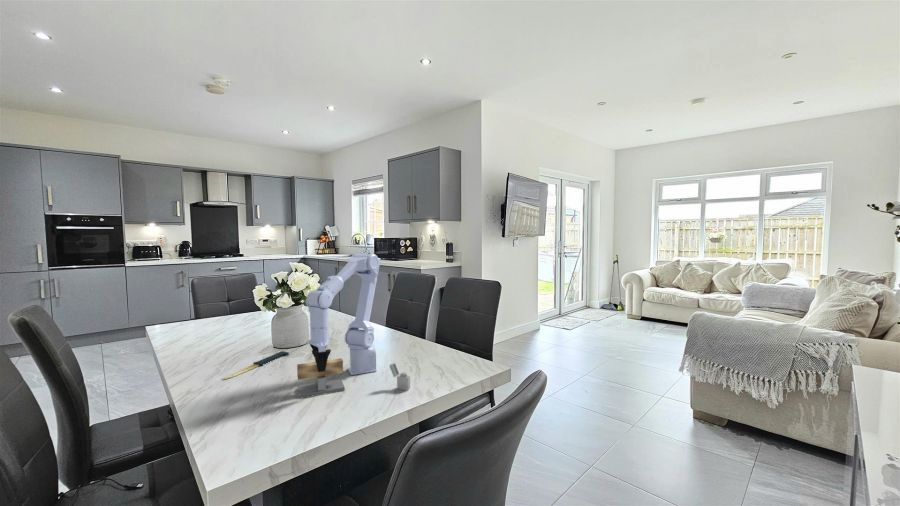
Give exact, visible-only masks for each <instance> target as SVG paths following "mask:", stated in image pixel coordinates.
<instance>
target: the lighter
mask: <svg viewBox="0 0 900 506" xmlns="http://www.w3.org/2000/svg"><path fill="white" fill-rule="evenodd" d="M389 369H390V371H391V374H392V376H393V378H395V377H396V383H397V384H396V385H397V387H396V388H397V390H401V391H405V392H408V391H409V389H410V390H411V376H410V375H408V374H407V372H404V371H403V372H399V369H398V367H397V364H396V362H393V363H391V364H389Z"/></svg>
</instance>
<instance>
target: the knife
mask: <svg viewBox="0 0 900 506" xmlns="http://www.w3.org/2000/svg"><path fill="white" fill-rule="evenodd" d="M289 353H290V352H288V351H282V350H281V351H280V352H277V353H275V354H272V355H269V356H267V357H265V358H263V359H259V360H258V361H257V360H256V361H254V362H252V363H253V364H251V365H249V366H246V367H244V368H241V369H238V370H236V371H234V372H231V373H229V374H227V375H225V376H223V379H222V380H223V381H225V380H228V379H231V378H235V377H238V376H239V375H242V374H244V373H246V372H248V371H251V370H253V369H256V368H258V367H260V366H261V367H263V366H264V365H267V364H269V363H271V362H273V360H274V361H276V360H279V359H280V358H282V357H287V356H289V355H290V354H289ZM275 359H276V360H275ZM270 361H271V362H270ZM268 362H269V363H268ZM266 363H267V364H266ZM263 364H264V365H263Z"/></svg>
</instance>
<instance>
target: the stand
mask: <svg viewBox="0 0 900 506" xmlns="http://www.w3.org/2000/svg"><path fill="white" fill-rule="evenodd" d="M326 378H327V377H326V376H319V377H315V382H313V383H308V384H300V385H297V394H298V395H299V396H298V399H301V398H300V397H303V398H307V396H309V397H313V396H312V395H315V396H318V395H317V394H321V395H324V394H323V393H326V394H330V393H329V392H332V393H337V392H336V391H338V392H341V391H343V390H344V391H345V390H346V388H345V387H346V386H345V385H344V382H343V380H342V378H339V379H331V380H327V379H326Z"/></svg>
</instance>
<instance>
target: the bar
mask: <svg viewBox="0 0 900 506" xmlns="http://www.w3.org/2000/svg"><path fill="white" fill-rule="evenodd" d="M296 369H297V372H296V373H297V380H298V381H299V380H304V379H305V380H306V379H312V378H316V377H319V376H325V377H326V376H331V375H336V374H339V375H340V374H343V373H344V361H343V358H334V359H329V360H328V359H327V364H326V370H325V371H323V372H318V369H317V364H316V361H313V362H306V363H299V364H296Z"/></svg>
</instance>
